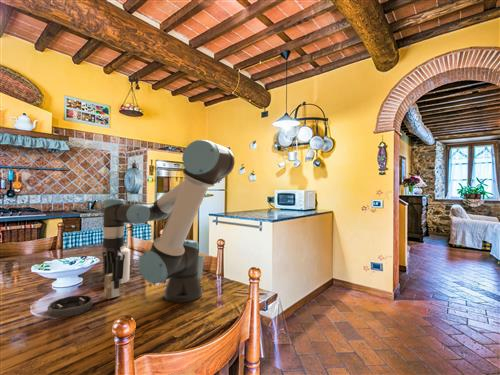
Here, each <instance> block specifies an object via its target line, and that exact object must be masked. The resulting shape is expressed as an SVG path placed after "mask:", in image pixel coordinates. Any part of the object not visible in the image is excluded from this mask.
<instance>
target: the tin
mask: <svg viewBox="0 0 500 375" xmlns="http://www.w3.org/2000/svg"><path fill="white" fill-rule="evenodd" d="M93 301H94V297H93V296H91V295H88V294H87V295H86V294H84V295H83V294H76V295H70V296H69V295H68V296H65V297H62V298H58V299H57V300H54V301H53V302H51V303H50V304H49V305H48V306H47V314H48V316H49V317H52V318H68V317H73V316H77V315H80V314H83V313H85V312H87V311H89V310H90V309H91V308H92V306H93V303H94V302H93Z"/></svg>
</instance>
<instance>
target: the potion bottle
mask: <svg viewBox="0 0 500 375" xmlns="http://www.w3.org/2000/svg"><path fill="white" fill-rule="evenodd" d="M120 249H121V254H122V255H125V258H124V265H123V278H122V279H121V285H123V284H125V283H127V282H129V281H130V266H131V265H130V264H131V262H130V260H131V251H130V249H129V248H128V247H126V243H125V242H124V245H123V246H121V247H120Z"/></svg>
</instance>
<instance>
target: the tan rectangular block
mask: <svg viewBox="0 0 500 375" xmlns="http://www.w3.org/2000/svg"><path fill="white" fill-rule="evenodd" d="M111 280H113V276H112V273H109V274H105V276H104V292H103V293H104V295H103V296H104V299H107V300H110V299H112V298H111ZM121 292H122V284H121V279H120V280H119V296H121V295H122V293H121ZM119 296H116V297H119ZM116 297H115V298H116Z"/></svg>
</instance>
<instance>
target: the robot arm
mask: <svg viewBox="0 0 500 375" xmlns="http://www.w3.org/2000/svg"><path fill="white" fill-rule="evenodd" d="M181 158H182V162H183V163H182V164H183V167H184V168H183V170H182V174H183V176H184V179H183V180H182V181H181V182H180V183H178V184H177V185H176V186H174V187H173V188H171V189H170V190H169V191H167V192H165V193H164V194H163V195H162V196H160V197H159V198H158V199H157V200H155V201H154V202H151V203H131V204H130V203H125V199H122V198H106V199H105V200H104V201H103V209H102V212H103V216H102V217H103V218H102V219H103V222H102V224H103V226H102V227H103V228H102V237H103V239H102V247H103V248H104V249H105V251H102V261H103V262H102V263H103V264H102V265H103V276H104V277H105V274H109V273H112V276H113V280H111V298H110V299H113V298H116V296H117V297H119V280H120V279H122V278H123V265H124V258H125V255H122V254H121V249H120V247H121V246H123V245H124V243H125V238H124V235H125V223H126V224H134V225H139V224H141V225H142V224H145V223H147V222H155V221H162V220H165V219H167V218H168V219H167V220H166V222H165V225H164V228H163V230H162V233H161V235H160V237H157V238H155V239H154V240H153V243H152V245H151V247H150V249H149V250H146V251H144V252H142V254H141V256H140V257H139V260H138V268H139V271H140V272H139V273H140V275H141V276H142V278H143V279H144V280H145V281H146V282H148V283H149V284H154V285H155V284H159V283H163V282H166V281H167V280H168V281H167V285H166V287H165V289H164V299H165V300H166V301H168V302H171V303H178V304H181V303H189V302H193V301H196V300H198V299H200V298H201V297H202V295H203V287H202V285H201V281H200V279H199V277H198V261H199V256H200V248H199V247H200V246H199V241H197V240H196V239H195V240H194V239H187V237H188V236H189V235H188V234H189V233H190V230H191V227H192V225H193V223H194V221H195V218H196V216H197V214H198V211H199V209H200V207H201V205H202V204H203V203H202V202H203V201H204V199H205V196H206V193H207V192H208V188H210V187H213V186H215V184H217V183H219V182H221V181H222V180H223V179H225V178H226V177H227V176H229V175H230V174H231V173H232V171H233V170H234V168H235V157H234V154H233V152H232V151H231V150H230V148H228V147H226V146H223V145H221V144H217V143H215V142H213V141H210V140H206V139H196V140H194V141H191V142H190V143H189V144H188V145H186V147H185V149H184V150H183V153H182V157H181Z"/></svg>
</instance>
